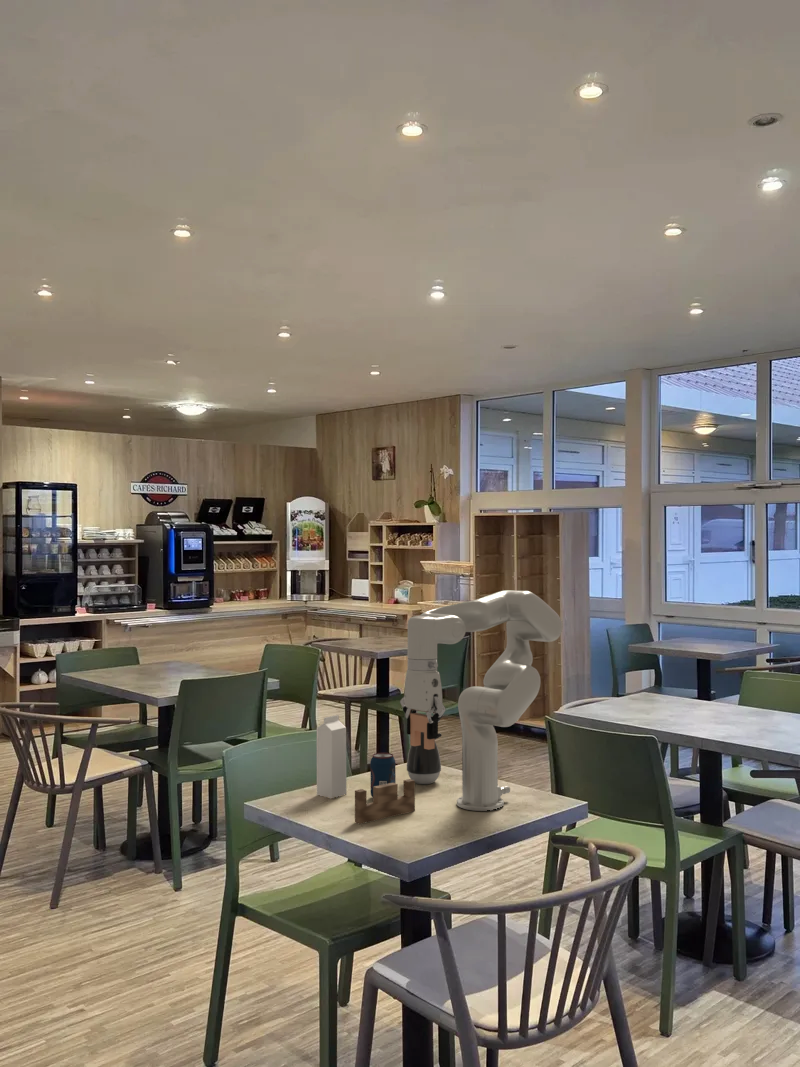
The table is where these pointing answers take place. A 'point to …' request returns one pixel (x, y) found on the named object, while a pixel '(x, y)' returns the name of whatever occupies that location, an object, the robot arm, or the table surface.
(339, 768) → the milk
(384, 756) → the soda can
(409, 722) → the robot arm
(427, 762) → the pump dispenser
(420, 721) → the slotted plate
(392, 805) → the walnut e-shaped block
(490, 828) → the table surface
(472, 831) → the table surface
